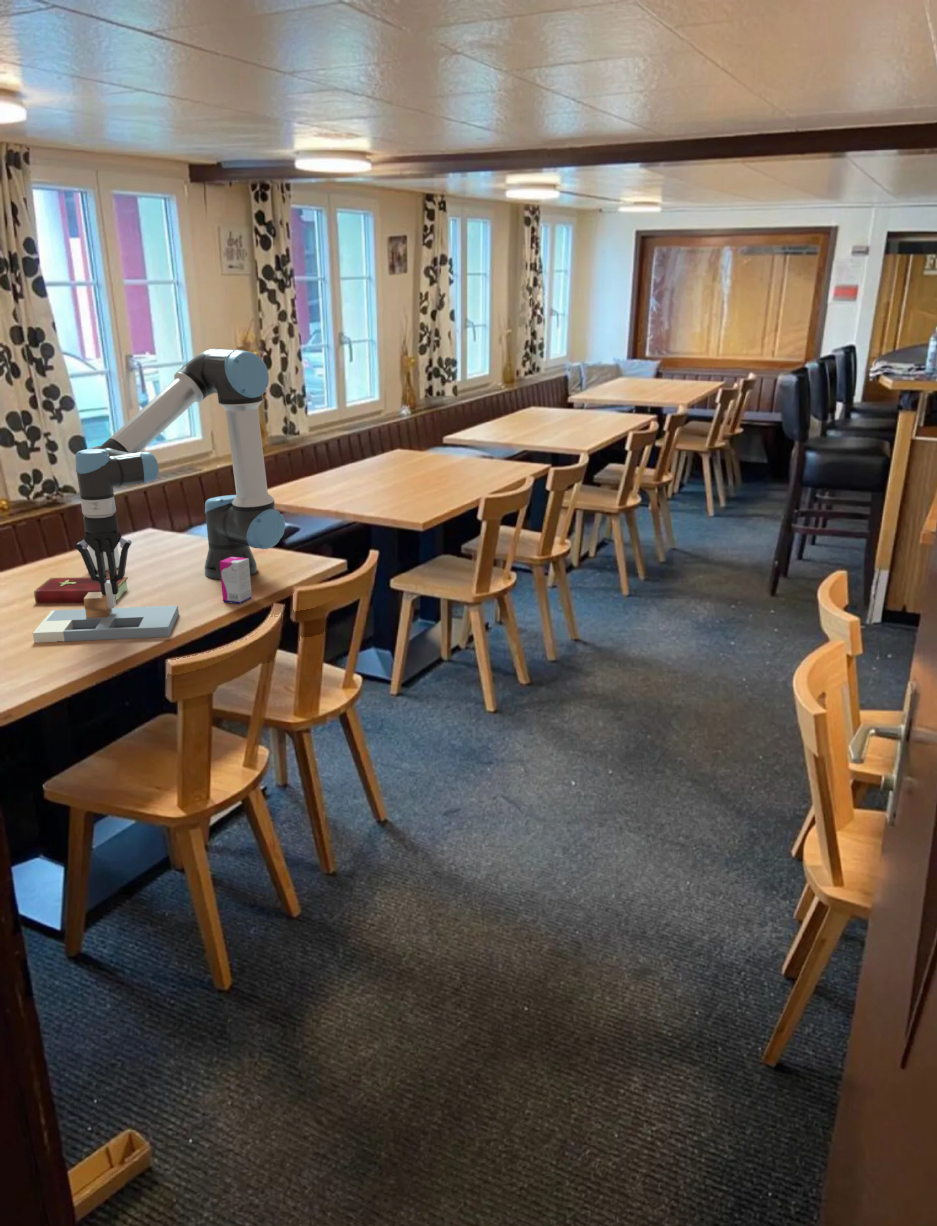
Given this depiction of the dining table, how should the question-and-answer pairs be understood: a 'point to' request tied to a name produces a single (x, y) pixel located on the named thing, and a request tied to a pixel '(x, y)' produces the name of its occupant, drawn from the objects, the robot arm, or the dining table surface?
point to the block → (96, 605)
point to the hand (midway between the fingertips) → (112, 606)
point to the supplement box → (235, 580)
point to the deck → (107, 624)
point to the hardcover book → (72, 589)
